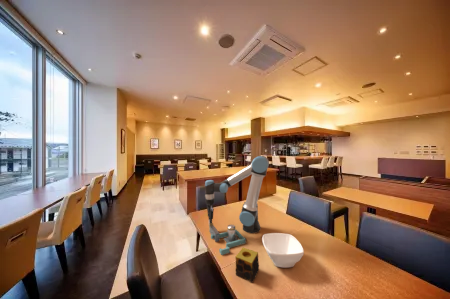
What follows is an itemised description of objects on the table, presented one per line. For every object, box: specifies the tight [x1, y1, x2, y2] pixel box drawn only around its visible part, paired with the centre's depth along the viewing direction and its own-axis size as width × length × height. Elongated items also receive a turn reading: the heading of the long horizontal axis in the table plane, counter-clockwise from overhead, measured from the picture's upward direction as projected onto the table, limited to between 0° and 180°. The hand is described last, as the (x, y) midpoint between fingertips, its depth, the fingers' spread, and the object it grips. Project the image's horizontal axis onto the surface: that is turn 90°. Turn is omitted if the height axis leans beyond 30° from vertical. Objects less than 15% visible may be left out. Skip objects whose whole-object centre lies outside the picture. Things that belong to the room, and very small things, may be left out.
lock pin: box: [208, 222, 221, 243], centre depth 123 cm, size 3×17×7 cm, turn 23°
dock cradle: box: [210, 229, 247, 256], centre depth 115 cm, size 21×23×3 cm
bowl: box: [261, 232, 305, 268], centre depth 93 cm, size 22×22×12 cm
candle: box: [234, 247, 260, 283], centre depth 85 cm, size 10×10×10 cm
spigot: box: [226, 224, 237, 242], centre depth 117 cm, size 6×6×10 cm
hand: (210, 226), depth 132 cm, fingers closed
